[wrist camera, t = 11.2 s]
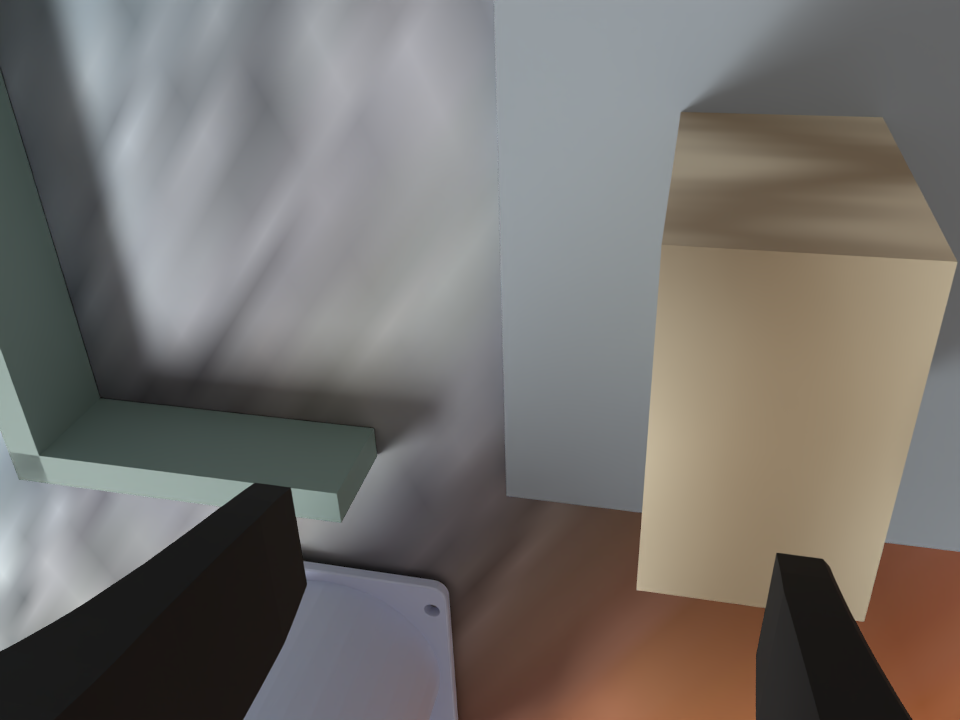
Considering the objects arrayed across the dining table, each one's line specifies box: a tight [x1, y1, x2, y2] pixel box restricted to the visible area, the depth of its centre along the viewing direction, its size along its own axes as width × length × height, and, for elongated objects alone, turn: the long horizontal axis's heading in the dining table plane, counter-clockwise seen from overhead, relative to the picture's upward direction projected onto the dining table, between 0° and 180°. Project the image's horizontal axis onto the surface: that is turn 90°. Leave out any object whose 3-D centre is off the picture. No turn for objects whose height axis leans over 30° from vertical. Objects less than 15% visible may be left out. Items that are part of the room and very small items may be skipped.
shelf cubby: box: [0, 70, 377, 523], centre depth 22 cm, size 15×10×3 cm, turn 2°
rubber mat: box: [494, 0, 960, 552], centre depth 20 cm, size 16×12×1 cm
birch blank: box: [636, 112, 957, 622], centre depth 17 cm, size 4×7×7 cm, turn 2°
